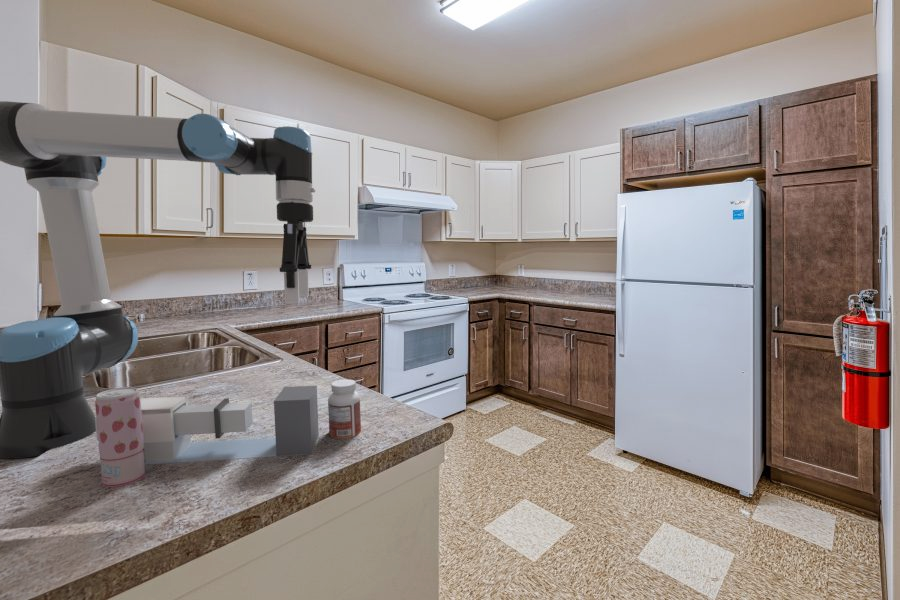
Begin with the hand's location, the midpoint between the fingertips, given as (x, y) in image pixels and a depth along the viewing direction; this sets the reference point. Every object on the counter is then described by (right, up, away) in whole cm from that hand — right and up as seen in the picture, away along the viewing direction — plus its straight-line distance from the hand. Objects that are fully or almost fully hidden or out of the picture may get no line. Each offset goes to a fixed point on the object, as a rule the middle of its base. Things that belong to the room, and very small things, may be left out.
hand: (297, 300), depth 98 cm
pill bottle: (+13, -28, -10) cm, 32 cm away
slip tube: (-14, -24, -20) cm, 34 cm away
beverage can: (-18, -29, -28) cm, 44 cm away
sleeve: (-18, -27, -20) cm, 38 cm away
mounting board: (-7, -28, -18) cm, 34 cm away
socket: (+6, -27, -16) cm, 32 cm away
